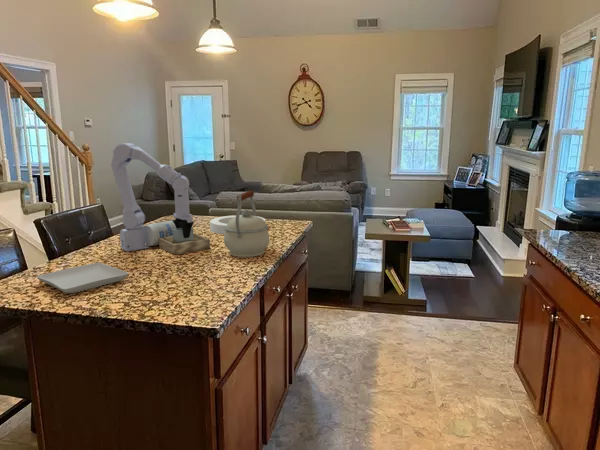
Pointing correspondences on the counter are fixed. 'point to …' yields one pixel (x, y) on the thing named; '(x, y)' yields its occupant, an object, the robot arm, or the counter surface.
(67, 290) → the salad plate
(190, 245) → the square wooden tray
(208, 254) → the counter surface
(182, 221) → the robot arm
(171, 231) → the supplement tub
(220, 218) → the ring with crossbar
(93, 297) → the counter surface
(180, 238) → the small crate
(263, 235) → the kettle
